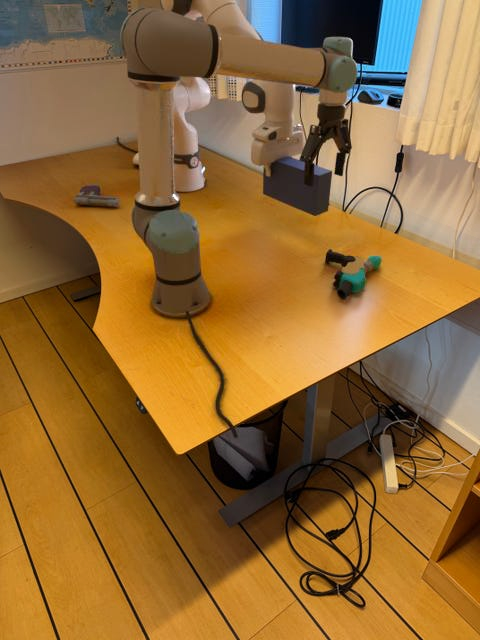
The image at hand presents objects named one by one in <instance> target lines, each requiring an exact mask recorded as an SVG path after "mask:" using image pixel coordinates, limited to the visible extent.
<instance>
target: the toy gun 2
mask: <svg viewBox="0 0 480 640" xmlns="http://www.w3.org/2000/svg"><path fill="white" fill-rule="evenodd" d="M382 259H383V258H382V257H381V256H380V255H375V254H374V255H370V256H369V257H368V258H367V259H366V261H364V258H363V257H360V256H355V255H354V256H353V255H345V254H344V253H340V252H337V251H334V250H333V249H332V248H329V249H328V250H327V251H326V253H325V258H324V263H325V264H327V265H329V264H330V263H334V264H338V265H340V266H341V268H340V270H338V271H336V273H335V274H334V275H333V279H334V281H333V283H332V286H333V287H334V288H335V289H337V290H336V294H337V296H338V297H339V298H340V299H341V300H343V301H345V300H347V298H348V297H349V296H350V295H351V294H352V293H354V294H358V293H359V292H360V291H363V288H364V287H365V286H366V283H367V278H366V274H368V273H370V272H371V271H372V270H377V269H378V268H379V267H380V266H381V265H382V262H383V260H382Z"/></svg>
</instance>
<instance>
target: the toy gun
mask: <svg viewBox="0 0 480 640" xmlns="http://www.w3.org/2000/svg"><path fill="white" fill-rule="evenodd" d="M73 203H75V204H76V205H80V206H81V205H82V206H83V205H84V206H93V207H95V206H96V207H107V208H108V207H109V208H118V205H119V203H120V198H117V197H113V196H109V195H108V196H107V195H106V196H105V195H102V196H101V187H100V185H99V184H86V185H84V186H81V188H80V190H79V193H77V194H76V195H75V198H74V200H73Z"/></svg>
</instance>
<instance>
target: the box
mask: <svg viewBox="0 0 480 640" xmlns="http://www.w3.org/2000/svg"><path fill="white" fill-rule="evenodd" d="M269 167H270V169H271V170H273V175H272V176H266V170H265V168H264V167H262V168H263V171H262V172H263V176H262V195H264V196H266V197H269V198H271V199H273V200H276V201H278V202H280V203H283V204H285V205H288V206H290V207H292V208H294V209H297V210H298V211H302V212H303V213H307V214H308V215H311V216H313V217H317V216H319V215H322V214H324V213H327V212H329V207H330V199H331V198H330V197H331V189H332V179H333V178H332V177H333V170H331V169H327V168H324V167H322V166H319V165H316V164H315V167H314V177H313V186H311V187H310V186H308V185H305V184H304V178H305V174H304V167H305V163H304V162H302V161H300V159H298V158H295V157H293V156H292V157H289V156H288V157H285V158H281V159H278V160H275V162H272V163H271V166H269Z"/></svg>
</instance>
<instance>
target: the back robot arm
mask: <svg viewBox="0 0 480 640" xmlns="http://www.w3.org/2000/svg"><path fill="white" fill-rule="evenodd" d="M159 3H160V7H161V10H168V11H172V12H174V13H177V14H179V15H182V16H184V17H187V18H189V19H192V20H195V21H197V19H198V18H201V19H203V21H204V23H205V24H210V25H214V26H216V28H217V29H218V31H219V32H221V33H226V34H231V35H237V36H242V37H247V38H252V39H258V40H263V41H265V39H263V37H262V35H261V34H260V32H259V31H257V29H255V28H254V27H253V26H252V24H251V23H250V22H249V21H248V19H247V18H246V17H245V15H244V14H243V12H242V10H241V9H240V7H239V4H238V3H237V0H159ZM211 93H212V92H211V89H210V86H209V84H208V83H207V82H206V81H205V80H204V78H200V77H180V82H179V83H178V84H177V85H176V86H175V87H174V89H173V108H174V191H175V192H176V193H177V192H180V193H181V192H182V193H186V192H187V193H188V192H194V191H198V190H200V189H203V188H204V187H205V182H206V178H205V177H204V172H205V169H206V168H205V166H202V162H201V161H200V160H201V153H200V149H199V142H198V141H199V140H198V130H197V129H196V128H195V126H194V125H193V124H191V123H189V122H187V121H186V117H185V114H187V113H191V112H196V111H200V110H202V109H203V108H205V107H207V106H208V105H209V104H210V102H211V96H212V94H211ZM240 97H241V98H240V99H241V103H242V106H243V107H244V109H245V110H246V111H247V112H248V113H249V114H254V115H255V114H256V115H258V114H263V115H265V116H264V117H265V118H264V122H262V123H261V124H260V125H259V126H258V127H256V128H255V129H253V130H252V133H251V137H252V138H253V140H252V142H251V145H250V146H251V148H250V162H251V163H252V164H253V165H255V166H258V167H262V166H263V168H265V170H266V176H272V175H273V170H271V169H270V167H269V166H271V163H272V162H275V160H278V159H281V158H285V157H288V156H289V157H292V158H293V157H295V156H299V155H301V154H302V151H303V148H304V146H305V143H304V134H303V131H304V130H303V129H304V128H303V126H302V125H300V123H298V124H297V123H296V124H295V115H294V109H295V105H296V85H290V84H283V83H276V82H269V81H262V80H254V79H250V80H249V81H246V83H244V85H243V87H242V89H241V96H240ZM116 142H117V144H118V145H120V146H121V147H122V148H125V149H126V150H129V151H130V152H134V153H136V154H137V153H138V150H135V149H133V148H130V147H128V146H125V145H124V144H123V143H121V142H120V141H119V136H116Z"/></svg>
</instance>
